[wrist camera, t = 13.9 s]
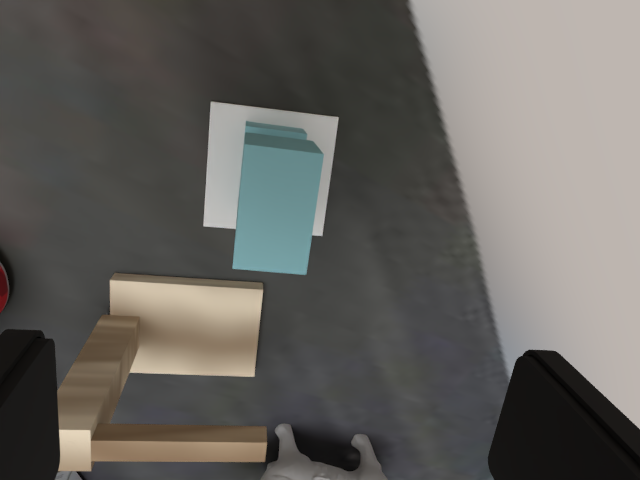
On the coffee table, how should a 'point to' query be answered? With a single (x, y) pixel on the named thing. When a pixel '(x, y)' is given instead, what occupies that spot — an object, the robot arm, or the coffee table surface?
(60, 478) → the tea box
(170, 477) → the coffee table surface
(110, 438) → the stand
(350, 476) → the dog figurine
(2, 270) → the soda can
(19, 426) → the robot arm
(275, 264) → the c link
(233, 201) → the felt mat
